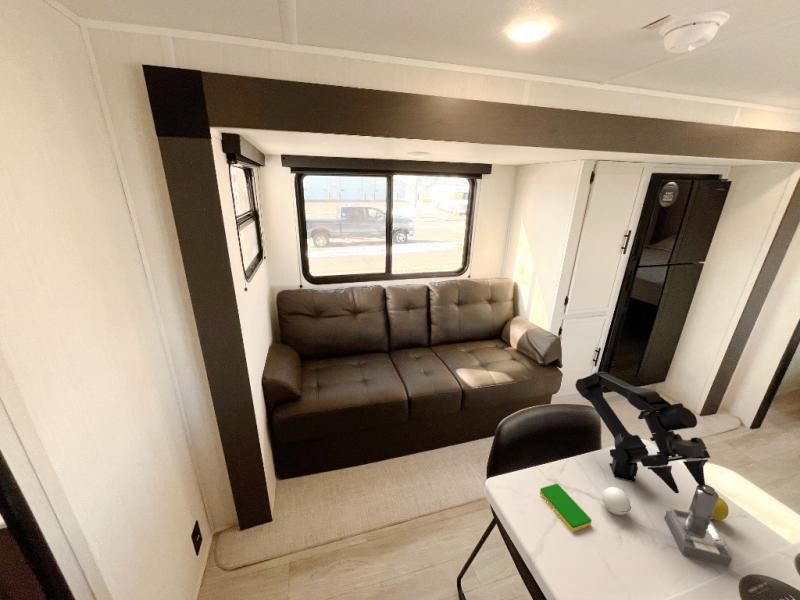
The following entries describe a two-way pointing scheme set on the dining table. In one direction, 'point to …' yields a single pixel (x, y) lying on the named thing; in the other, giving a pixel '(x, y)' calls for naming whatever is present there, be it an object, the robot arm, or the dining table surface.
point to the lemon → (720, 510)
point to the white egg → (616, 501)
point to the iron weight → (701, 509)
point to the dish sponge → (565, 507)
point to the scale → (697, 540)
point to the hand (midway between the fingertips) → (690, 490)
